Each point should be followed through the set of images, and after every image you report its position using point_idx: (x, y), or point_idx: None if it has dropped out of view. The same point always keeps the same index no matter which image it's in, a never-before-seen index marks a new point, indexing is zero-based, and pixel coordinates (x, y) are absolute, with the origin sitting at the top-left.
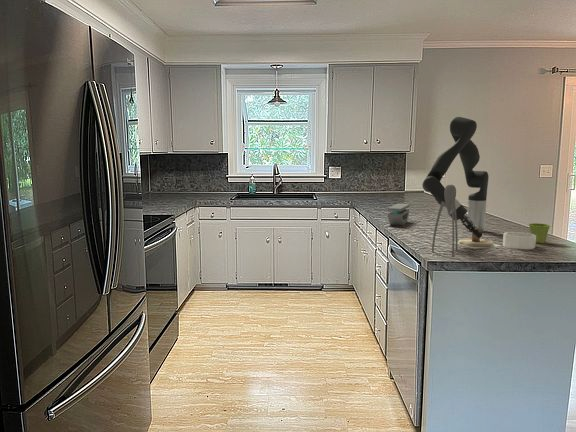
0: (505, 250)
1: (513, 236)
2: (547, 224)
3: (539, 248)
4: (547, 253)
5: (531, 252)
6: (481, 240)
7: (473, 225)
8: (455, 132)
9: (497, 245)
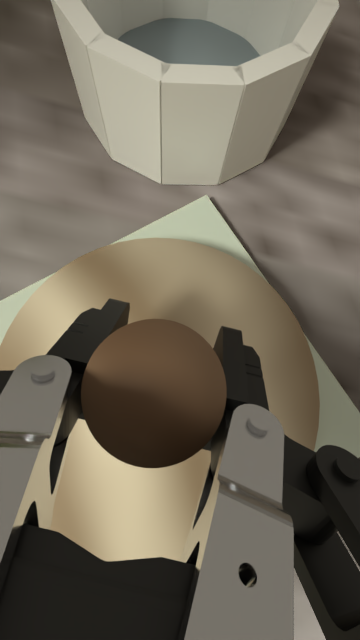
0: (325, 210)
1: (315, 50)
2: None
3: None
4: (340, 19)
5: (340, 83)
6: None
7: (249, 493)
8: None
9: (197, 222)
